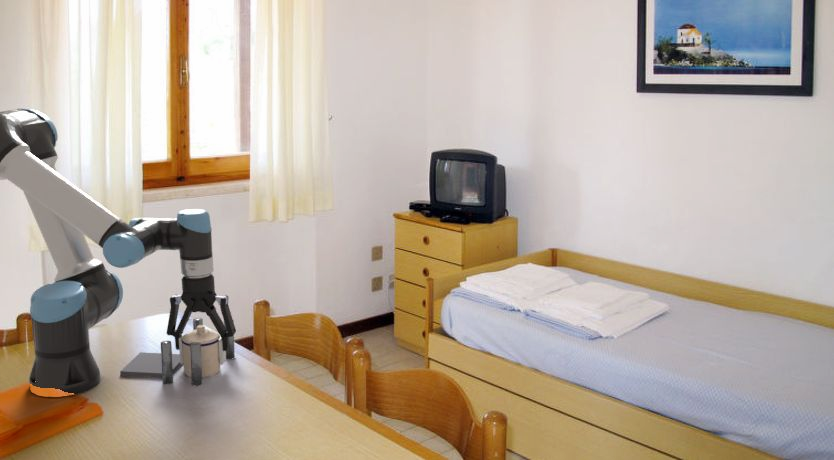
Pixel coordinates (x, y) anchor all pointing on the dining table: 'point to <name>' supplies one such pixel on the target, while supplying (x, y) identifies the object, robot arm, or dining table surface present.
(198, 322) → the post back left
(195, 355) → the post front right
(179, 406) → the dining table surface
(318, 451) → the dining table surface
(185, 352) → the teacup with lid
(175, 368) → the coaster
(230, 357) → the post back right
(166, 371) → the post front left
